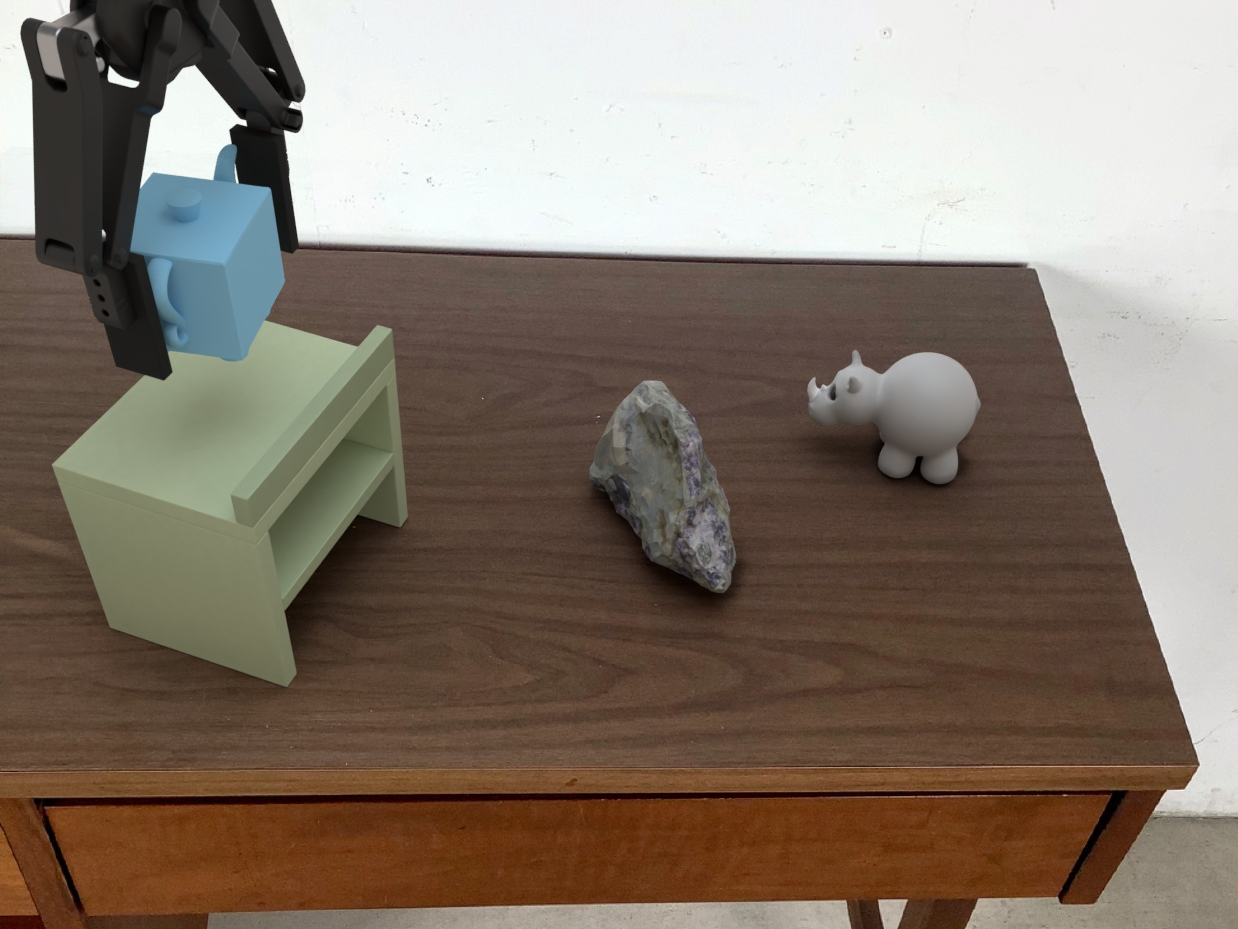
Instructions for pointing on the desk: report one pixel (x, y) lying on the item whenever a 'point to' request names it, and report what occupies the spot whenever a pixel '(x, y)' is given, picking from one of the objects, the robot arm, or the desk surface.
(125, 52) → the robot arm
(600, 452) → the mineral rock
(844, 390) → the toy rhinoceros
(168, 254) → the teapot
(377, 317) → the desk surface
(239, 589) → the shelf
